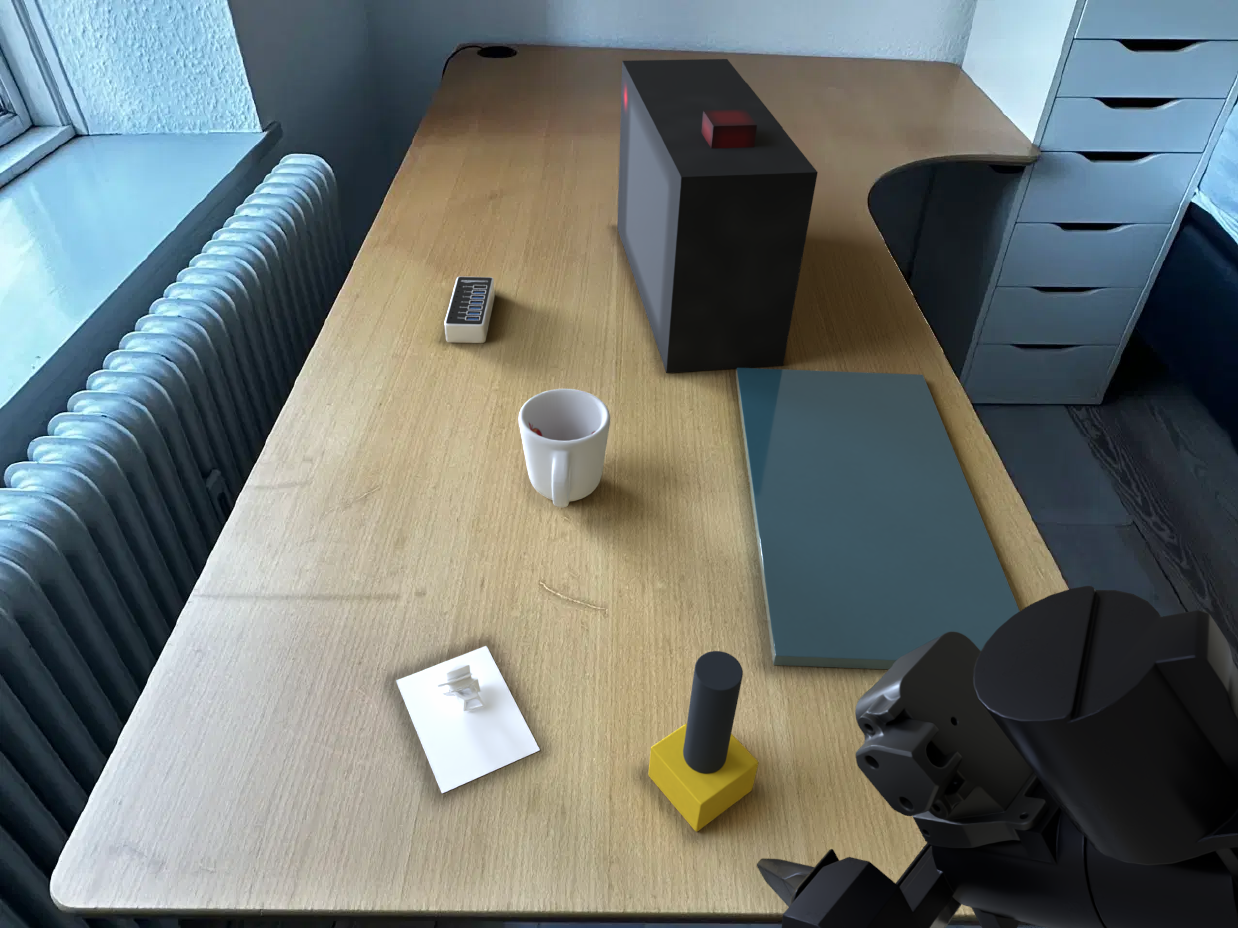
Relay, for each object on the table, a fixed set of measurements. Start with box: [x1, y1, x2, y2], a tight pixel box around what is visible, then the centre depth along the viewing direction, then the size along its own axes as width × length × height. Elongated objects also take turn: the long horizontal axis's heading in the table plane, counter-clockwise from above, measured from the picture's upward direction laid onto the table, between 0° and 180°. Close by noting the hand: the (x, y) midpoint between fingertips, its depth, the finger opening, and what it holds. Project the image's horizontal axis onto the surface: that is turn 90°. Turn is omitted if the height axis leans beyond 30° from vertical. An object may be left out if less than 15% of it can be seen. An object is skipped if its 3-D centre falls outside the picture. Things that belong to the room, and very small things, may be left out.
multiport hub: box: [443, 276, 496, 344], centre depth 103 cm, size 4×11×2 cm, turn 0°
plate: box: [735, 367, 1021, 670], centre depth 81 cm, size 38×20×1 cm, turn 179°
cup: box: [518, 388, 611, 508], centre depth 79 cm, size 11×8×8 cm
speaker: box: [616, 58, 819, 374], centre depth 103 cm, size 15×35×24 cm, turn 9°
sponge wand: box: [648, 650, 759, 832], centre depth 56 cm, size 5×5×12 cm
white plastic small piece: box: [437, 664, 486, 712], centre depth 63 cm, size 3×3×3 cm
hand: (820, 806), depth 44 cm, fingers open, 9 cm apart
